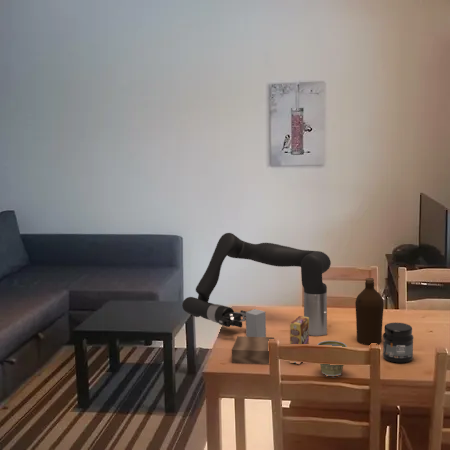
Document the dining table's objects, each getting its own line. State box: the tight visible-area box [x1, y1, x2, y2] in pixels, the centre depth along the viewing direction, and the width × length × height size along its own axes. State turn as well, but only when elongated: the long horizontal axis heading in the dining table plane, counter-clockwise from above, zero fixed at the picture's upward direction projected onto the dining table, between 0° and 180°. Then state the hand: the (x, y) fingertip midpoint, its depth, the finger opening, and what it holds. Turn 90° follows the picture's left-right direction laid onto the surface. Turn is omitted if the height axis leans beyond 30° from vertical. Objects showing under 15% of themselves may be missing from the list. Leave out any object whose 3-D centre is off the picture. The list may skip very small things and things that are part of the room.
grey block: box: [245, 308, 267, 337], centre depth 241 cm, size 6×6×12 cm
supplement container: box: [382, 322, 414, 364], centre depth 219 cm, size 10×10×12 cm
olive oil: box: [354, 277, 385, 346], centre depth 236 cm, size 11×11×25 cm
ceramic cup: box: [316, 340, 348, 376], centre depth 207 cm, size 13×10×10 cm
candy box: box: [289, 315, 310, 363], centre depth 220 cm, size 9×4×15 cm, turn 151°
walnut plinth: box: [231, 335, 275, 365], centre depth 226 cm, size 14×14×5 cm
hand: (249, 322), depth 243 cm, fingers open, 8 cm apart
